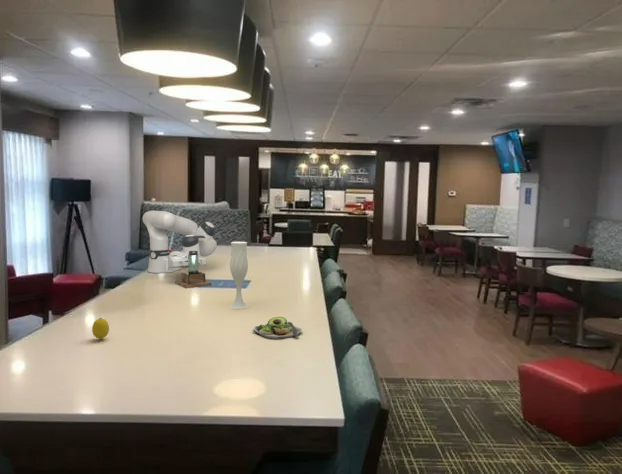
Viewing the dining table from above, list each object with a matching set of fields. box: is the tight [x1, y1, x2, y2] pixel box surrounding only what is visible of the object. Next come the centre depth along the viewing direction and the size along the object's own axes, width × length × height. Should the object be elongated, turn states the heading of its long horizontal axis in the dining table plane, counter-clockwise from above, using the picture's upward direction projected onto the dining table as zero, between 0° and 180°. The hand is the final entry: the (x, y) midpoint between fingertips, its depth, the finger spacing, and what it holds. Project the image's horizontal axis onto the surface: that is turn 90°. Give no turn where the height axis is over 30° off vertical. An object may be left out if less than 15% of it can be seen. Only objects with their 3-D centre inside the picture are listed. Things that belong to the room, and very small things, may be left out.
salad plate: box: [253, 316, 302, 340], centre depth 193 cm, size 19×18×5 cm
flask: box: [187, 251, 199, 275], centre depth 283 cm, size 6×6×16 cm
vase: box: [229, 241, 249, 310], centre depth 232 cm, size 9×8×30 cm
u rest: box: [174, 270, 212, 289], centre depth 284 cm, size 15×15×6 cm
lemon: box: [91, 317, 110, 341], centre depth 181 cm, size 6×6×8 cm
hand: (193, 263), depth 282 cm, fingers closed on flask, 5 cm apart
